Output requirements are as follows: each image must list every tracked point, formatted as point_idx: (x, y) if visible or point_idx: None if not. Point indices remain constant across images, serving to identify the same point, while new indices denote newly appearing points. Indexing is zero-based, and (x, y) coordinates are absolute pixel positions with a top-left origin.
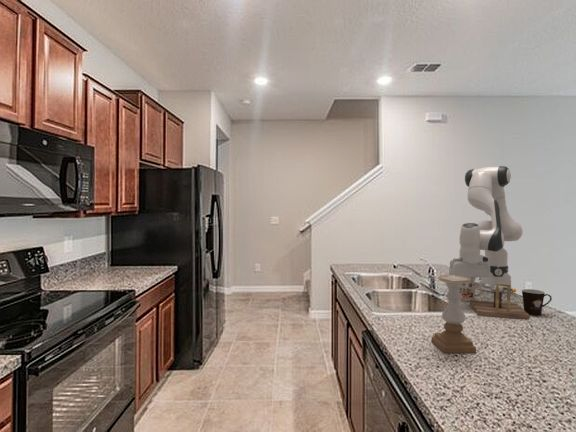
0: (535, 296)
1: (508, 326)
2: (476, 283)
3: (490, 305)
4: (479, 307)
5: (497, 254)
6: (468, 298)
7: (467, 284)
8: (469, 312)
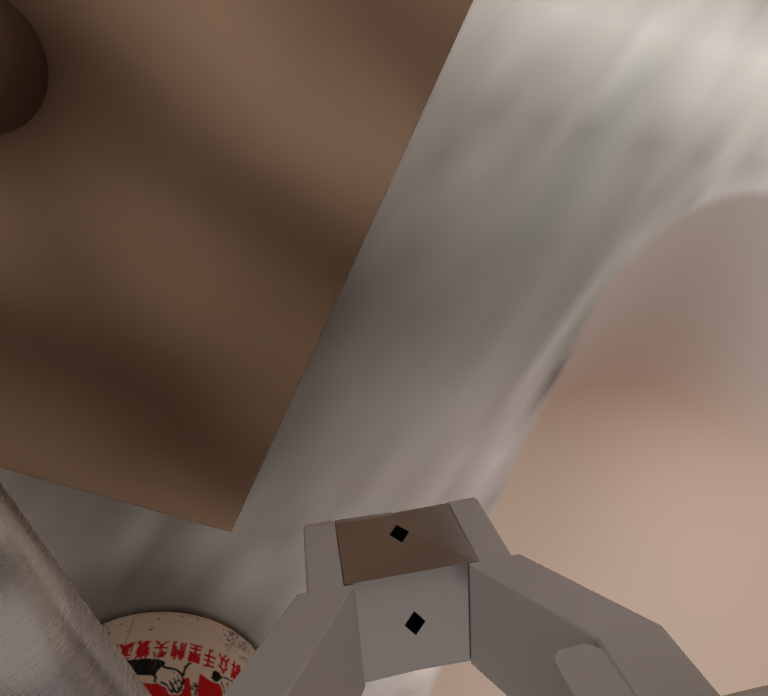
0: None
1: None
2: (102, 692)
3: (65, 180)
4: (353, 86)
5: None
6: (174, 640)
7: (502, 550)
8: (504, 100)
